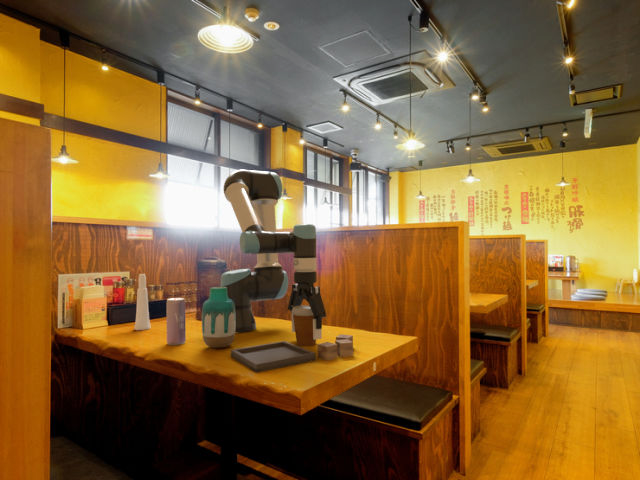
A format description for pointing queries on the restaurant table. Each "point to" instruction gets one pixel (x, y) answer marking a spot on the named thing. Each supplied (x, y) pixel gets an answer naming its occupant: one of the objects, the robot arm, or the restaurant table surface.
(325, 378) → the restaurant table surface
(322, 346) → the cube
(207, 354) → the restaurant table surface
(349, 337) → the cube
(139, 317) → the cosmetic bottle
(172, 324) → the beverage can
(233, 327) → the vase
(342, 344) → the cube
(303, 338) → the disposable coffee cup
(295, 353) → the tray
